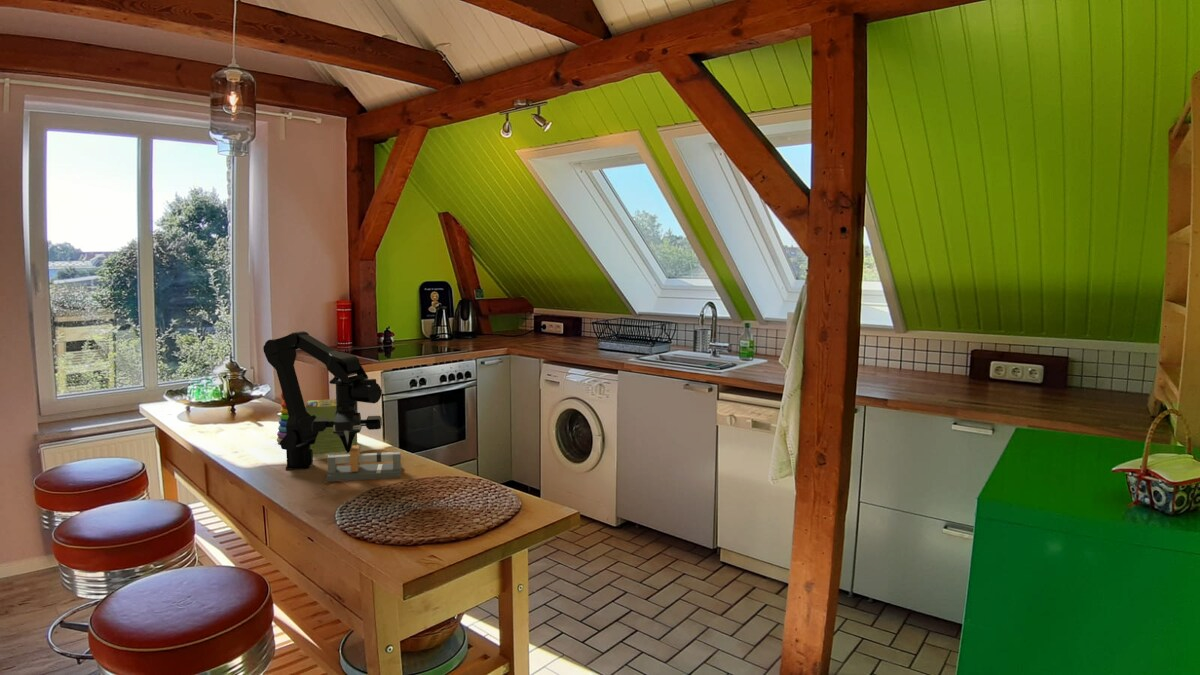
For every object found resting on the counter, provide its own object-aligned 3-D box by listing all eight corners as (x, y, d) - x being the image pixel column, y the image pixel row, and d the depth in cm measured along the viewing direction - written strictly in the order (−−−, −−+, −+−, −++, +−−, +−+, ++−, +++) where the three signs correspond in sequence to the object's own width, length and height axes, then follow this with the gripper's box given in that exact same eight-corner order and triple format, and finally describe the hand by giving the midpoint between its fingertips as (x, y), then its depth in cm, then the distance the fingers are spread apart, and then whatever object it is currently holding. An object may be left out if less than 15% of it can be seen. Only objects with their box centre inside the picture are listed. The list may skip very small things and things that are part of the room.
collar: (350, 471, 194) (350, 451, 193) (353, 465, 200) (352, 445, 199) (357, 471, 195) (357, 451, 194) (360, 464, 200) (359, 445, 200)
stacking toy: (292, 445, 225) (290, 390, 222) (271, 444, 226) (269, 389, 224) (307, 439, 232) (305, 385, 230) (287, 437, 234) (284, 384, 231)
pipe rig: (326, 481, 192) (325, 460, 191) (331, 471, 200) (330, 451, 199) (399, 477, 196) (399, 457, 195) (401, 467, 205) (401, 448, 204)
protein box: (357, 450, 221) (356, 404, 219) (306, 454, 216) (304, 407, 214) (357, 442, 231) (356, 397, 229) (308, 445, 225) (306, 400, 223)
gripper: (306, 407, 184) (308, 462, 186) (378, 405, 189) (379, 459, 191) (313, 398, 195) (315, 450, 197) (381, 396, 199) (382, 447, 201)
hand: (348, 452), depth 196 cm, fingers closed
